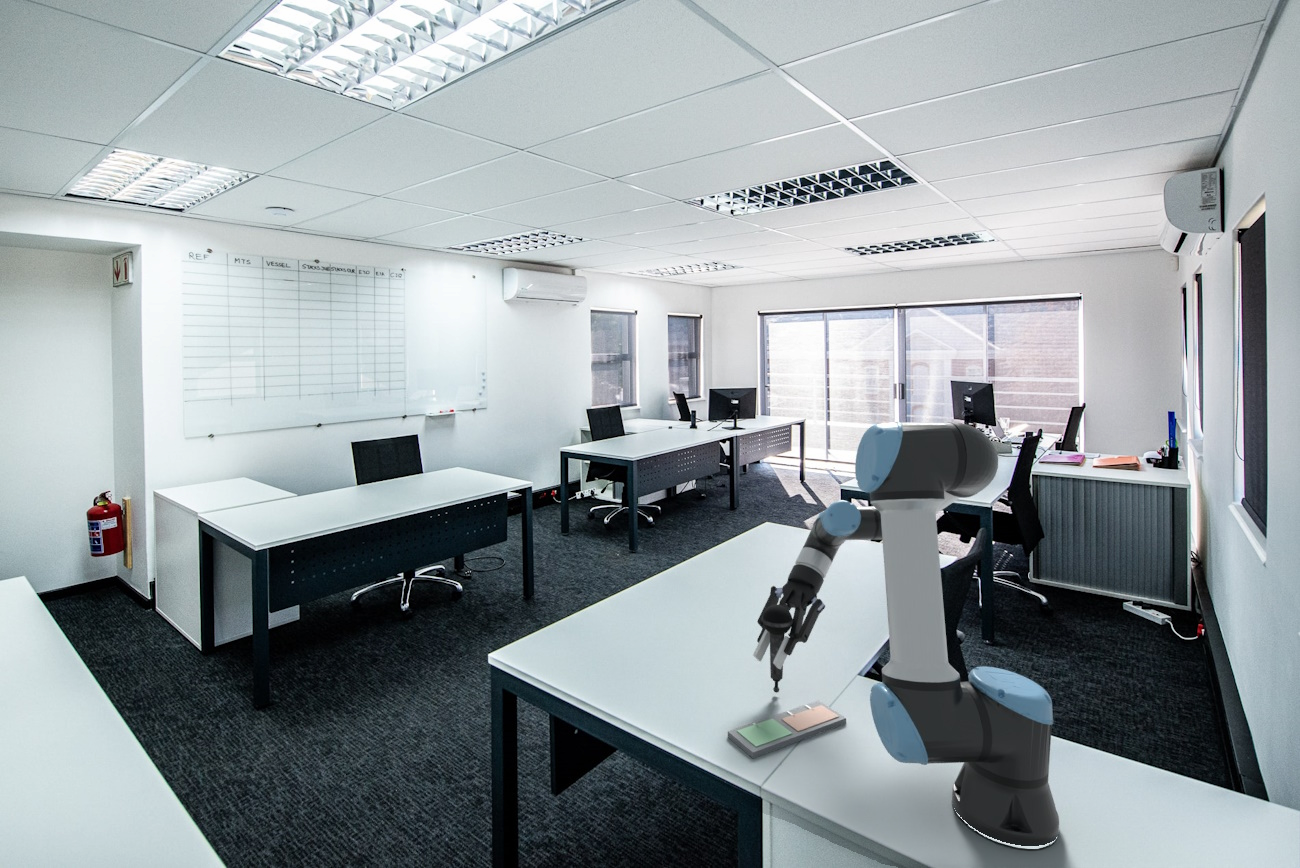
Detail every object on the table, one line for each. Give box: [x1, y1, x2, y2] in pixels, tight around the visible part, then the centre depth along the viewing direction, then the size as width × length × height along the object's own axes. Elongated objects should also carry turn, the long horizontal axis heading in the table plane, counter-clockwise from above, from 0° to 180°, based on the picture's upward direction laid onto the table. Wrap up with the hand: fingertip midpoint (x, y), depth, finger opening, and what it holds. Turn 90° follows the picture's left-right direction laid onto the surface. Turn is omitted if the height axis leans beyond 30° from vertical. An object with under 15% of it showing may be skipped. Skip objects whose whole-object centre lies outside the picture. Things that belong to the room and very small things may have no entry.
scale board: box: [727, 699, 847, 759], centre depth 127 cm, size 8×24×1 cm, turn 119°
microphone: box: [761, 604, 793, 694], centre depth 140 cm, size 7×7×20 cm
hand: (766, 662), depth 137 cm, fingers closed on microphone, 5 cm apart
